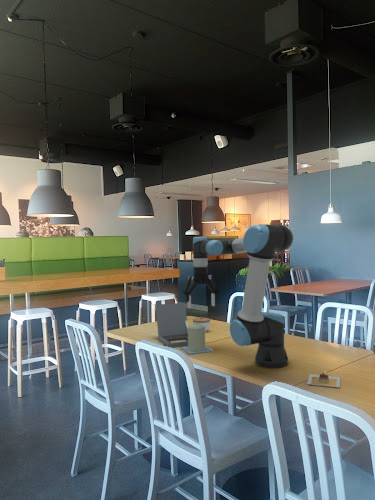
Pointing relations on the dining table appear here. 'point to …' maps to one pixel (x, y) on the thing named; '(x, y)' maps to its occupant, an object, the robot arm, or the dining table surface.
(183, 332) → the case
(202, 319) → the lidded jar
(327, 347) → the dining table surface
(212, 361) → the dining table surface
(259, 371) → the dining table surface
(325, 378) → the dessert
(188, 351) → the mat
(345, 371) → the dining table surface
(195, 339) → the can
